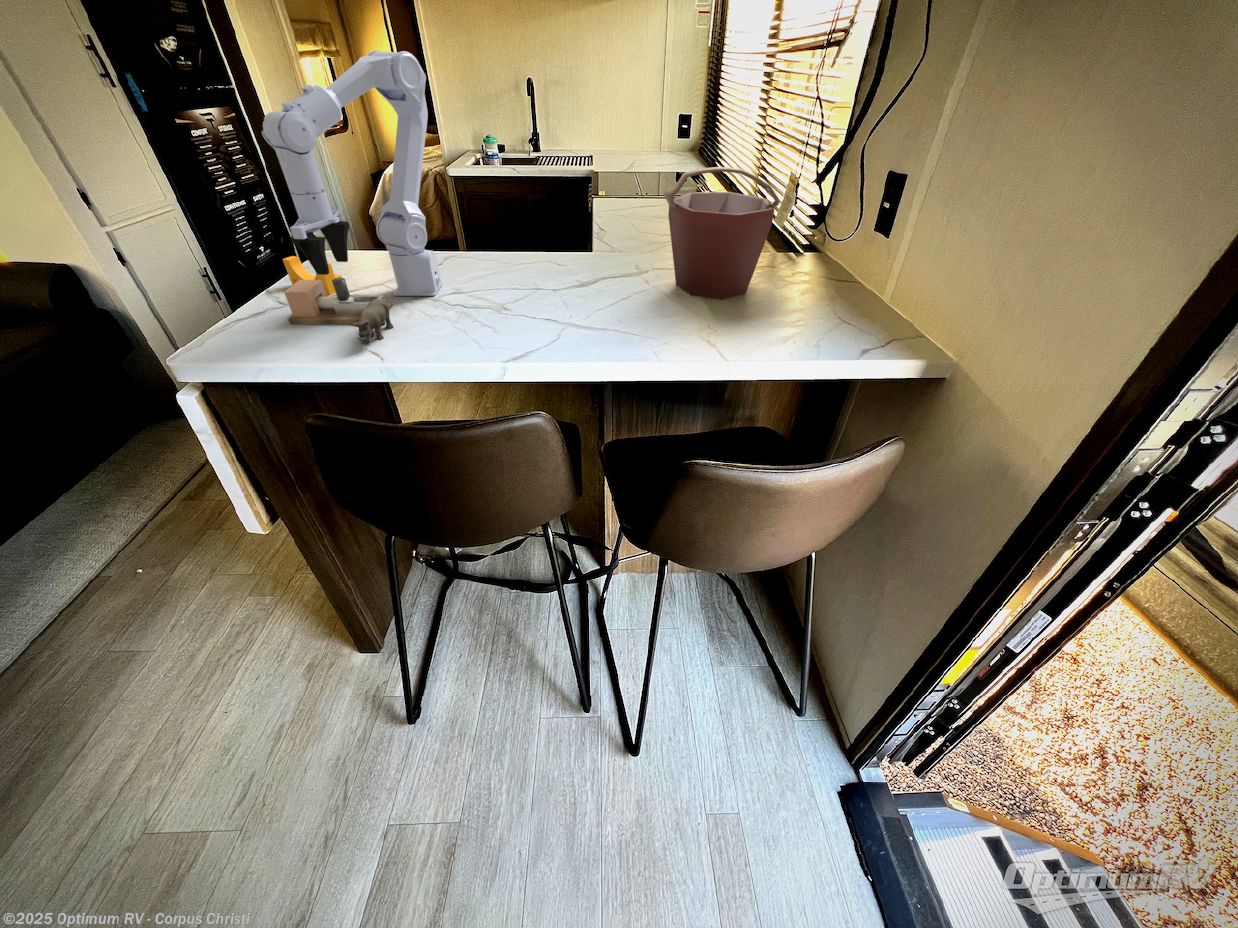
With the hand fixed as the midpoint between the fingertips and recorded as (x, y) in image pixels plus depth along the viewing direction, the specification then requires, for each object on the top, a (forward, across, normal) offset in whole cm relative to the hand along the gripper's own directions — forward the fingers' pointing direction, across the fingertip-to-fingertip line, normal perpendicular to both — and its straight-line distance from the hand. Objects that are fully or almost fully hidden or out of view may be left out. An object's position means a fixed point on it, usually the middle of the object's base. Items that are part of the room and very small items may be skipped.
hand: (333, 267), depth 102 cm
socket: (+9, -1, +7) cm, 11 cm away
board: (+10, 0, +2) cm, 10 cm away
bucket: (+10, +25, -78) cm, 83 cm away
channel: (+9, 0, -3) cm, 9 cm away
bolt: (+8, 0, +3) cm, 9 cm away
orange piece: (+10, +14, +14) cm, 23 cm away
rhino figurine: (+10, -10, -10) cm, 18 cm away
